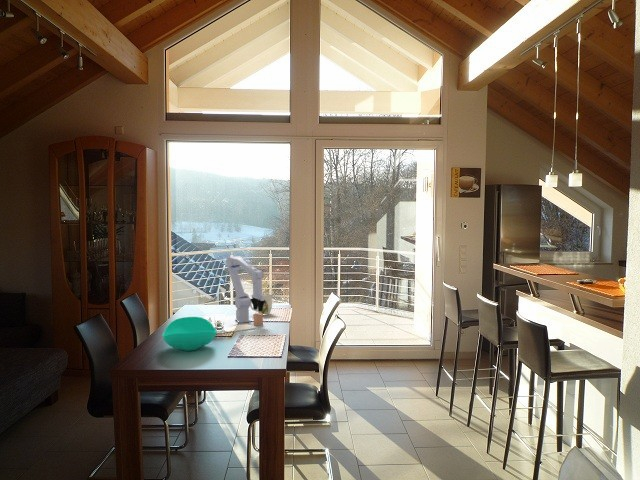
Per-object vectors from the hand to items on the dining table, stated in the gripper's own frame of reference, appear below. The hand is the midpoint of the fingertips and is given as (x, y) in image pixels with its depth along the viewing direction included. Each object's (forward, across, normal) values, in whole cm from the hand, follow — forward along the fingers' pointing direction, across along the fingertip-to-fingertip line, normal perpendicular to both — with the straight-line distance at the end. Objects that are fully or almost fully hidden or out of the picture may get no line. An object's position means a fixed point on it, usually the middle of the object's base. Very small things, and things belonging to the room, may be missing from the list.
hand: (257, 310), depth 316 cm
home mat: (+9, -2, +15) cm, 18 cm away
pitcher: (+10, +28, -16) cm, 34 cm away
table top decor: (+10, -31, +53) cm, 62 cm away
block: (+9, 0, 0) cm, 9 cm away
